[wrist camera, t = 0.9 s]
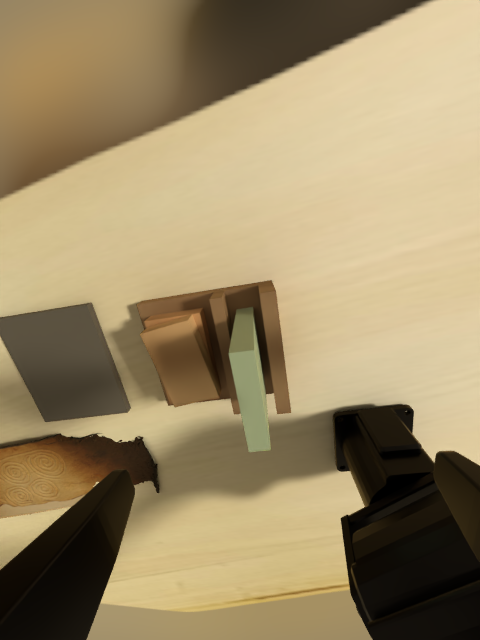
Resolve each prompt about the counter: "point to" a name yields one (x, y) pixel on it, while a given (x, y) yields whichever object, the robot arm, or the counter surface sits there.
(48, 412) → the mat
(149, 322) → the offcut lower
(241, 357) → the block
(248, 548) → the counter surface
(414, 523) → the robot arm
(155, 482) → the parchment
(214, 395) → the offcut upper
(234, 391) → the rack
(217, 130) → the counter surface
